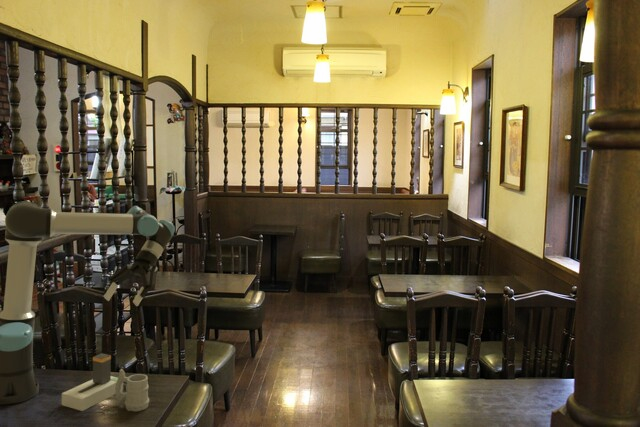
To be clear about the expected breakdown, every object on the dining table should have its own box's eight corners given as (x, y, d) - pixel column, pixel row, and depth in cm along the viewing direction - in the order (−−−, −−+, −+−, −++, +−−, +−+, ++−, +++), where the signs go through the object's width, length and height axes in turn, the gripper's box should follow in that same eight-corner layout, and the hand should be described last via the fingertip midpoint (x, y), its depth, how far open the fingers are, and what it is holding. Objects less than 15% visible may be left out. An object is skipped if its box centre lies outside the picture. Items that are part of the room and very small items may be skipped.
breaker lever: (92, 382, 179) (92, 356, 178) (101, 378, 183) (101, 353, 182) (101, 384, 178) (101, 359, 177) (110, 380, 182) (110, 355, 181)
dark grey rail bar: (104, 383, 189) (104, 379, 189) (106, 381, 190) (106, 378, 190) (130, 389, 184) (130, 386, 184) (132, 388, 186) (132, 385, 185)
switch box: (61, 405, 171) (61, 392, 171) (103, 384, 187) (103, 373, 187) (82, 411, 168) (82, 398, 167) (123, 389, 184) (123, 378, 184)
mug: (141, 413, 168) (142, 377, 167) (108, 408, 170) (108, 373, 169) (153, 403, 175) (154, 368, 174) (121, 398, 177) (122, 364, 176)
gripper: (179, 264, 200) (152, 311, 187) (128, 257, 209) (99, 302, 197) (171, 252, 195) (142, 300, 182) (119, 245, 204) (88, 291, 191)
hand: (120, 301), depth 189 cm, fingers open, 13 cm apart
